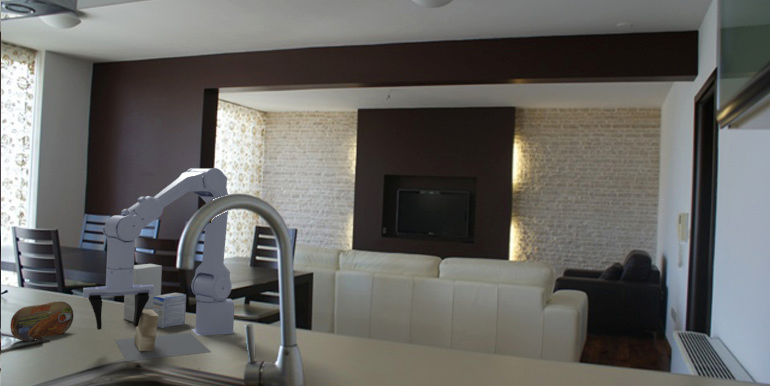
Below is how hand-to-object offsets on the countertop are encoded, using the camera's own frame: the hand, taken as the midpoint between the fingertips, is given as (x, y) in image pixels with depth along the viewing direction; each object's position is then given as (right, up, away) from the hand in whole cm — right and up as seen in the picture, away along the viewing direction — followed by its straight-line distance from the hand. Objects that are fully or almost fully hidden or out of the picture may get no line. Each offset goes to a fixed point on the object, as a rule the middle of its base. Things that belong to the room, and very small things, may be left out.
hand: (117, 327), depth 128 cm
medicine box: (+1, -7, +27) cm, 28 cm away
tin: (-24, -5, +11) cm, 27 cm away
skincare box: (-9, -6, +34) cm, 36 cm away
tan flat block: (+5, -5, +3) cm, 8 cm away
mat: (+8, -6, +5) cm, 11 cm away
